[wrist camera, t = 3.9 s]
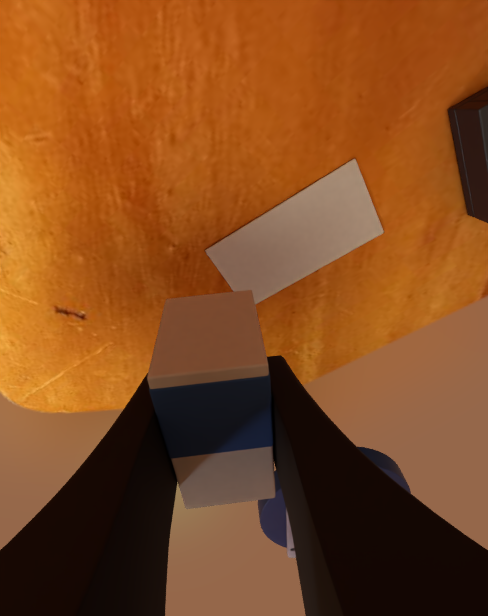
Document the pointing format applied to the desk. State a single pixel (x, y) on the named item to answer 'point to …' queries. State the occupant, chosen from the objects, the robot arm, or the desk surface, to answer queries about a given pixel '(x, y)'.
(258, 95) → the desk surface
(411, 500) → the robot arm
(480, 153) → the tray
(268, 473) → the eraser
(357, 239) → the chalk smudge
